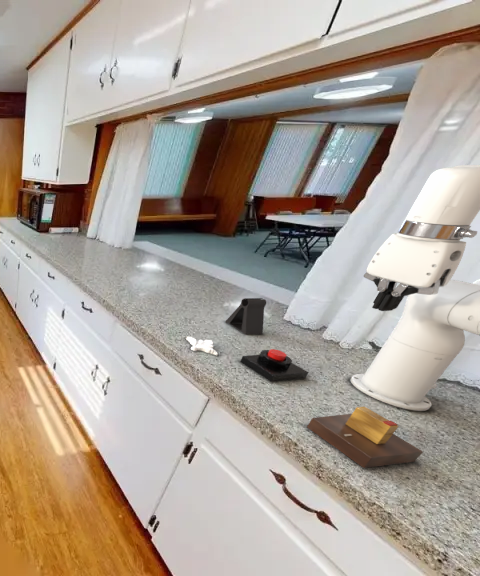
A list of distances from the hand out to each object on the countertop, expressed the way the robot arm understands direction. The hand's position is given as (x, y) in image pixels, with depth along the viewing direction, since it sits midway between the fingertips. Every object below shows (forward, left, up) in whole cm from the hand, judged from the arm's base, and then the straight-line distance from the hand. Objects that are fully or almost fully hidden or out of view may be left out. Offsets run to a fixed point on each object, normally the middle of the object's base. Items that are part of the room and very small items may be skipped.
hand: (382, 309), depth 68 cm
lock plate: (+13, +14, -25) cm, 32 cm away
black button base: (+6, -10, -25) cm, 28 cm away
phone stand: (-8, -32, -25) cm, 42 cm away
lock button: (+5, -11, -21) cm, 25 cm away
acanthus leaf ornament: (+17, -23, -25) cm, 38 cm away
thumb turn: (+13, +14, -22) cm, 29 cm away
